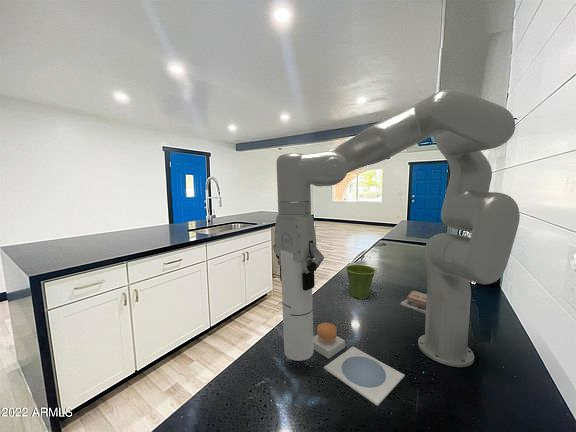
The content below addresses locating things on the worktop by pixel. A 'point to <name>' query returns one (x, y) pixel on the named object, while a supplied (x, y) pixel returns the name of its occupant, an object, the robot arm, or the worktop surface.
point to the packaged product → (416, 301)
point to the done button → (327, 331)
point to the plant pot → (360, 280)
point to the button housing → (328, 346)
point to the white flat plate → (365, 374)
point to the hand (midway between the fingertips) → (296, 283)
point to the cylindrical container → (296, 310)
